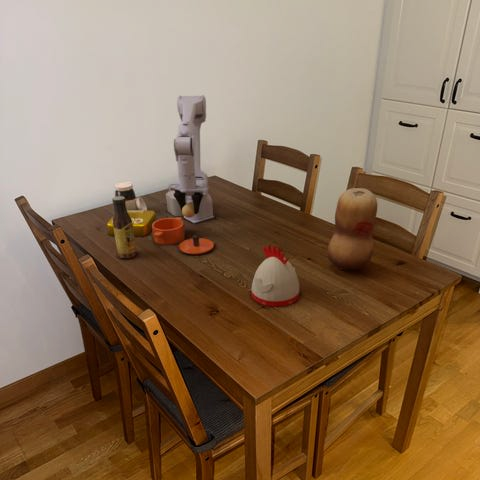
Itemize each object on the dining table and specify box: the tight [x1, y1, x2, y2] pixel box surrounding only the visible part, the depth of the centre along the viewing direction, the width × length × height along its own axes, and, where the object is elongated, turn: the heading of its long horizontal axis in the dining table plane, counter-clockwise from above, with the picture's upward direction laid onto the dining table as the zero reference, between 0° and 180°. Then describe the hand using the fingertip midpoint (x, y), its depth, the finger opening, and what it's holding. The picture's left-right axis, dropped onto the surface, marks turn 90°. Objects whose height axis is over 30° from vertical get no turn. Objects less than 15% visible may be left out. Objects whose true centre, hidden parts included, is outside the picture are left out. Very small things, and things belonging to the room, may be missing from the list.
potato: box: [182, 202, 195, 218], centre depth 167 cm, size 7×5×5 cm, turn 158°
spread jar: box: [114, 181, 148, 210], centre depth 189 cm, size 12×11×12 cm
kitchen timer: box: [250, 243, 300, 307], centre depth 133 cm, size 14×14×15 cm
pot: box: [151, 216, 186, 246], centre depth 170 cm, size 11×17×5 cm
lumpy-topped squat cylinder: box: [165, 191, 187, 217], centre depth 192 cm, size 10×13×9 cm
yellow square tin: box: [106, 209, 157, 237], centre depth 179 cm, size 15×15×5 cm
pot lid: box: [178, 234, 215, 255], centre depth 163 cm, size 12×12×4 cm
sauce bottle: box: [111, 196, 137, 259], centre depth 155 cm, size 7×6×20 cm
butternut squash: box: [327, 187, 378, 272], centre depth 142 cm, size 14×13×25 cm
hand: (190, 212), depth 168 cm, fingers closed on potato, 4 cm apart
